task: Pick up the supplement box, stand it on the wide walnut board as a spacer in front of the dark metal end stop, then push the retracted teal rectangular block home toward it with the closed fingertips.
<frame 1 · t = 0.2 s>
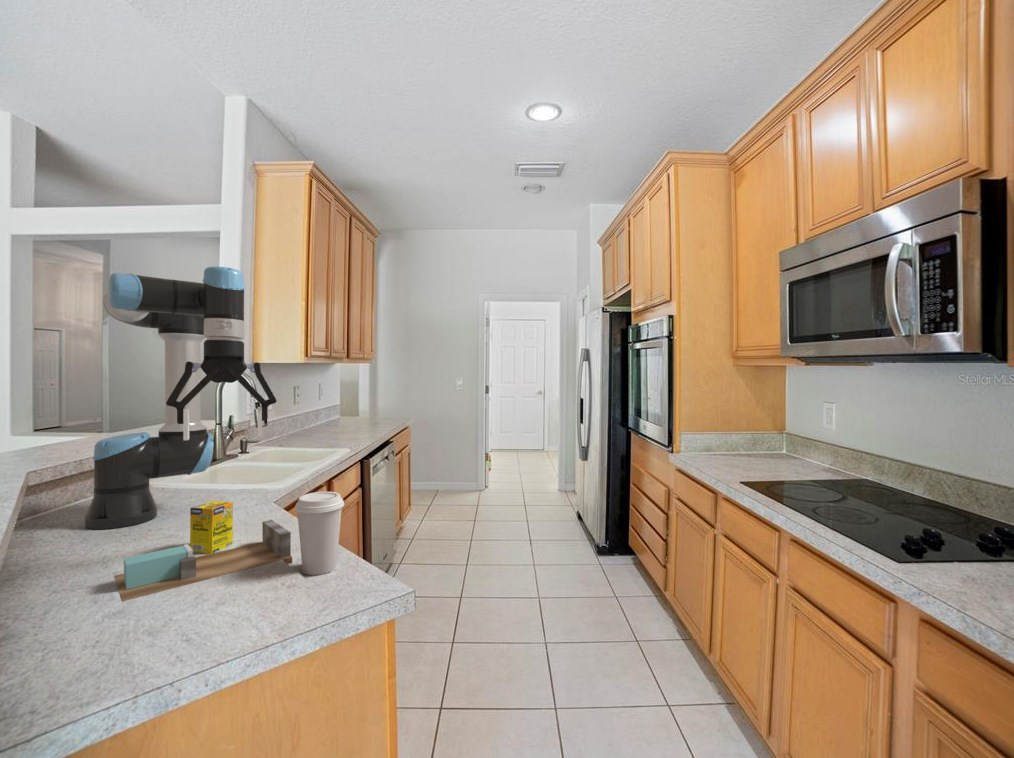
hand: (224, 437, 100), 26 cm above the counter, fingers open, 13 cm apart
teal rectangular block: (159, 565, 88), point 4 cm above the counter, slide at 0.0 cm, touching rail base
rail base: (207, 571, 94), on the counter
supplement box: (211, 553, 104), on the counter
coffee cup: (319, 569, 96), on the counter
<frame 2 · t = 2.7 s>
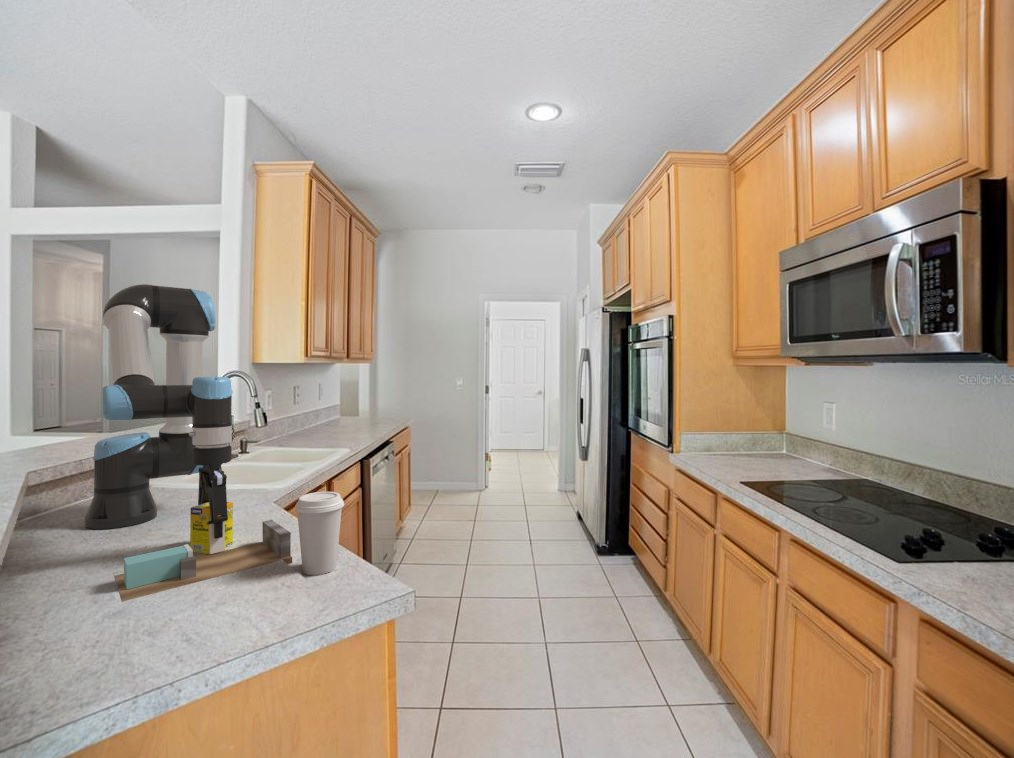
hand: (212, 546, 104), 1 cm above the counter, fingers open, 8 cm apart
supplement box: (211, 553, 104), on the counter, touching gripper, rail base
everything else where it was.
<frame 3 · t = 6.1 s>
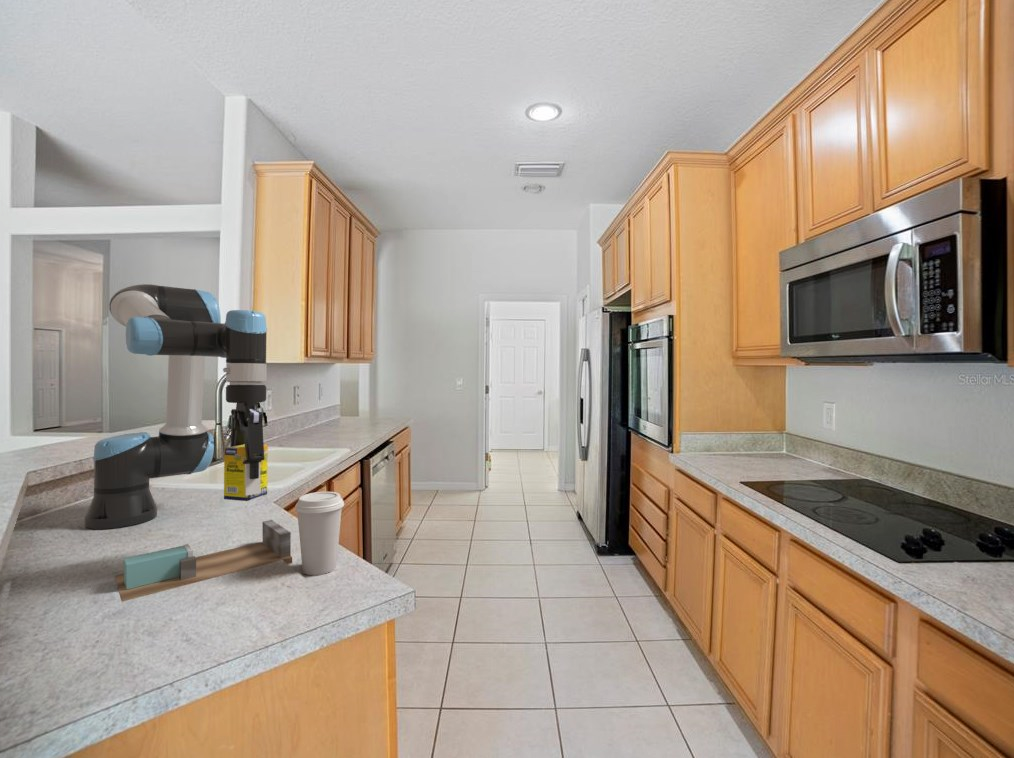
hand: (246, 490, 99), 15 cm above the counter, fingers closed on supplement box, 8 cm apart
supplement box: (246, 498, 99), point 14 cm above the counter, touching gripper
everything else where it was.
when the fingers open (3 cm above the counter, at t = 8.5 s): supplement box stays where it is, resting on rail base.
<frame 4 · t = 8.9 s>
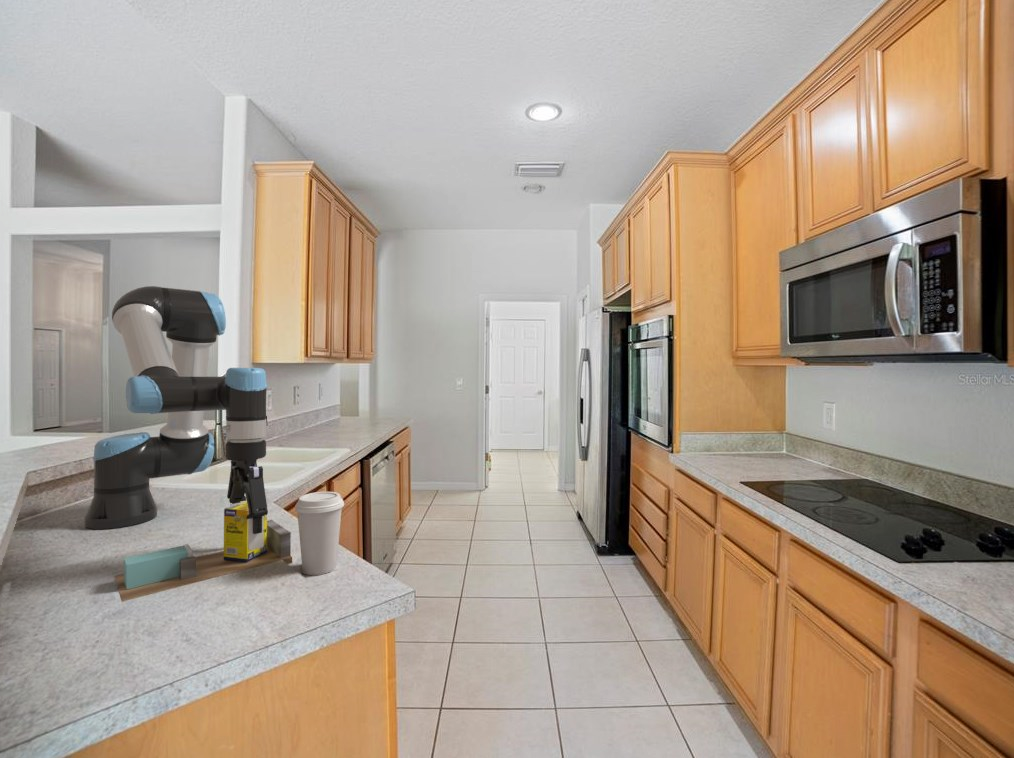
hand: (246, 540, 99), 5 cm above the counter, fingers open, 12 cm apart
supplement box: (245, 557, 99), point 1 cm above the counter, touching rail base
everything else where it was.
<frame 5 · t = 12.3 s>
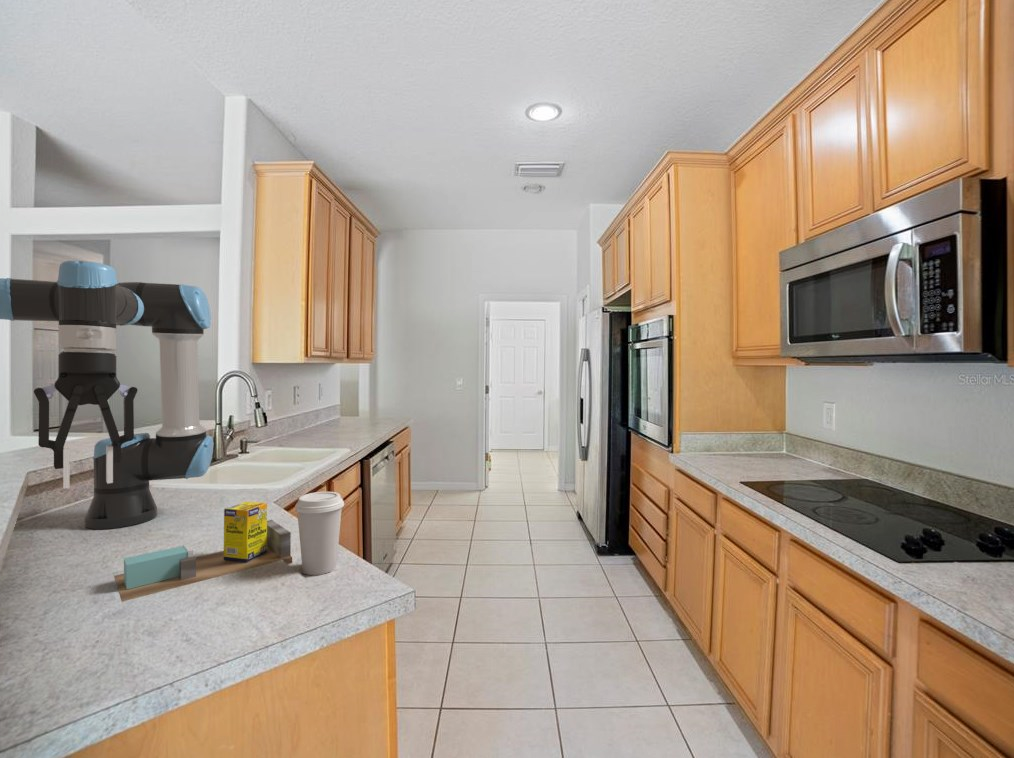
hand: (88, 484, 81), 21 cm above the counter, fingers open, 5 cm apart
nothing on the counter moved.
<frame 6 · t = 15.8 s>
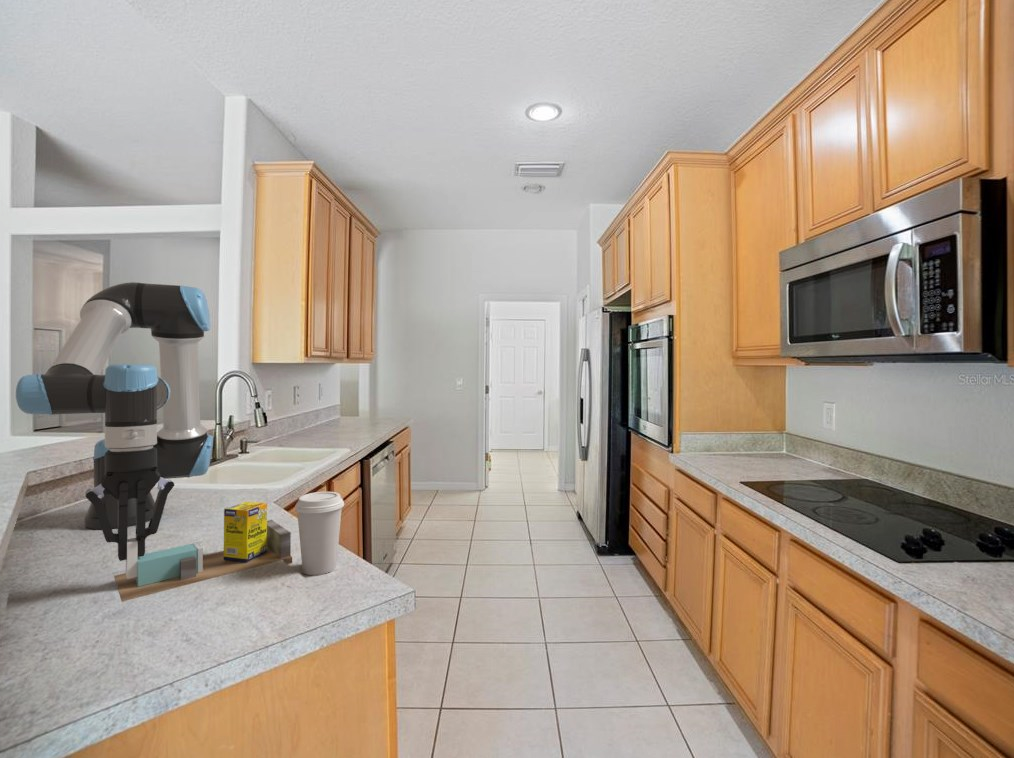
hand: (131, 575, 85), 3 cm above the counter, fingers closed
teal rectangular block: (169, 563, 89), point 4 cm above the counter, slide at 1.7 cm, touching gripper, rail base
everything else where it was.
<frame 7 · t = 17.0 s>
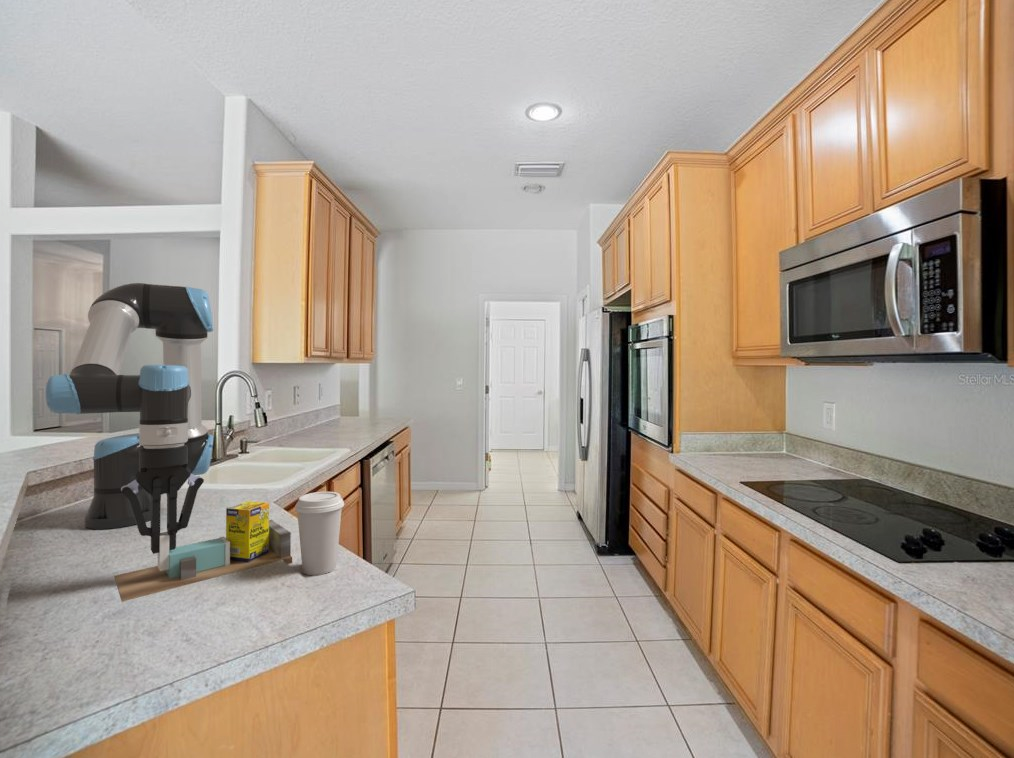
hand: (163, 567, 89), 3 cm above the counter, fingers closed
teal rectangular block: (198, 556, 93), point 4 cm above the counter, slide at 6.4 cm, touching gripper, rail base, supplement box
supplement box: (247, 556, 99), point 1 cm above the counter, touching rail base, teal rectangular block
everything else where it was.
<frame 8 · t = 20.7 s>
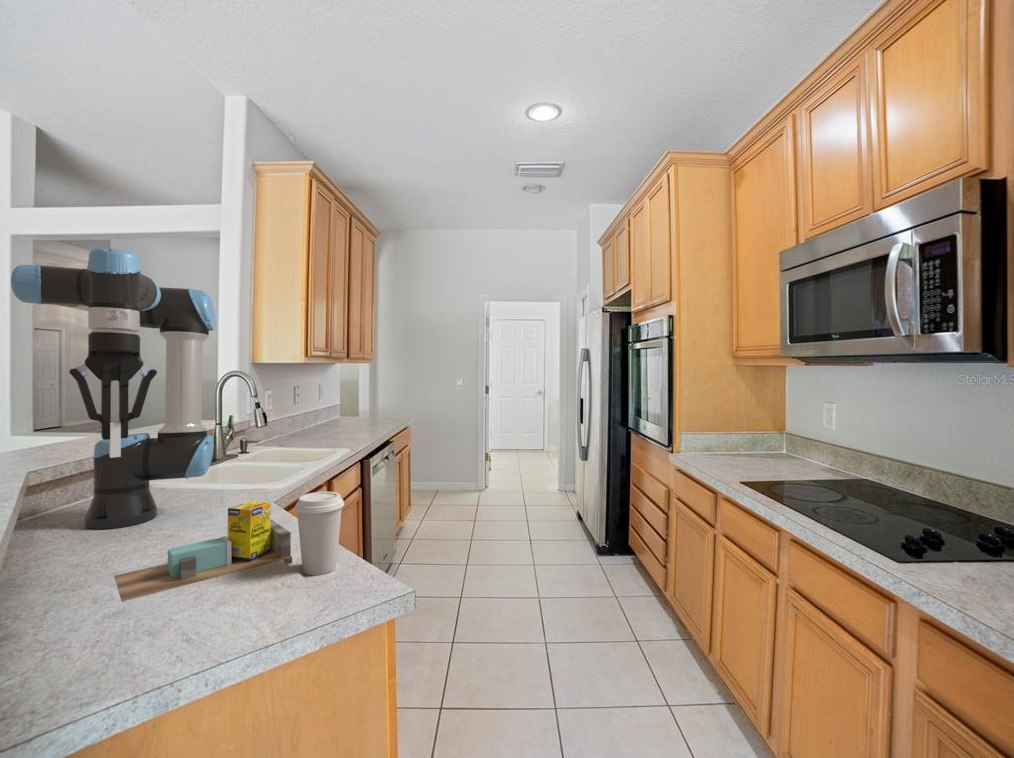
hand: (114, 456, 88), 24 cm above the counter, fingers closed
teal rectangular block: (200, 556, 93), point 4 cm above the counter, slide at 6.7 cm, touching rail base
supplement box: (249, 556, 99), point 1 cm above the counter, touching rail base
everything else where it was.
at the end: teal rectangular block slide at 6.7 cm; supplement box inside the target area (0.4 cm from its centre), point 1.0 cm above the counter; supplement box tilted 0° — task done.
